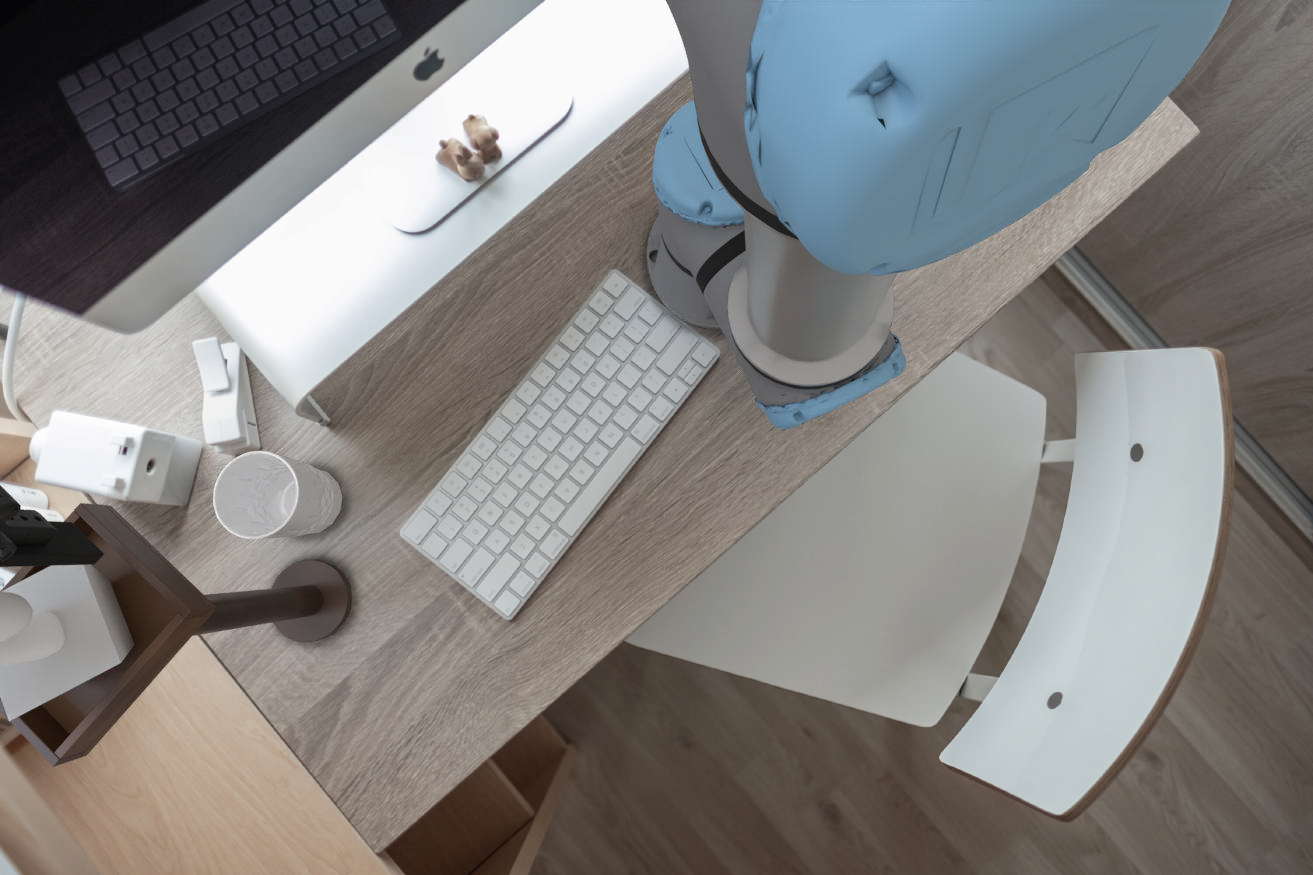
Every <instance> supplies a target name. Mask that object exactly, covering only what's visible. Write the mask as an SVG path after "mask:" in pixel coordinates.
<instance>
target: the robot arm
mask: <svg viewBox="0 0 1313 875" xmlns="http://www.w3.org/2000/svg"><path fill="white" fill-rule="evenodd" d="M665 2H666V4H667V6H668V8H669V10H670V13H671V15H672V18H673V20H674V23H675V25H676V27H677V30H678V33H679V35H680V38H681V41H682V45H683V47H684V51H685V55H686V59H687V64H688V69H689V75H690V82H691V87H692V94H693V99H691V100H690V101H688V102H687V103H686V104H685V103H684V105H682V106H681V107H679V109H677V111H675V112H674V113H673V115H671V117H670V118H669V119H668V120H667V122H666V123H665V124H664V126H663V128H662V130H661V132H660V134H659V136H658V138H657V141H656V144H655V149H654V154H653V162H652V169H651V174H652V177H651V180H652V184H653V185H654V186H653V189H654V192H655V195H656V204H657V212H658V215H657V216H656V218H655V220H654V222H653V224H652V227H651V229H650V231H649V235H648V239H647V244H646V267H647V273H648V277H649V279H650V284H651V286H652V288H653V291H654V292H655V294H656V296H657V297H658V299H659V300H660V301H661V303H662V304H663V306H665V308H666V309H667V310H668V311H669V312H671V313H672V314H673V315H674V316H676V317H677V318H678V319H680V320H682V321H684V322H686V323H688V324H690V325H692V326H695V327H697V328H701V329H705V330H713V331H721V332H722V335H723V336H724V338H725V340H726V342H727V344H728V346H729V348H730V350H731V352H732V354H733V355H734V358H735V360H736V362H737V364H738V365H739V368H740V369H741V371H742V373H743V375H744V377H745V379H746V382H747V383H748V385H749V387H750V389H751V391H752V392H753V395H754V396H755V397H754V401H755V404H756V406H757V407H758V408H759V409H760V410H762V411H763V412H764V414H765V416H766V418H767V419H768V421H769V423H770V424H771V425H772V426H773V427H774V428H776V429H778V430H782V431H783V430H791V429H793V428H796V427H799V426H802V425H803V424H805V423H807V422H809V421H812V420H814V419H817V418H820V417H822V416H824V415H826V414H828V413H830V412H832V411H835V410H837V409H838V408H841V407H843V406H845V405H846V404H849V403H851V402H853V401H855V400H857V399H860V398H861V397H863V396H865V395H867V394H868V393H870V392H872V391H875V390H876V389H879V388H881V387H882V386H884V385H886V384H887V383H889V382H890V381H892V380H893V379H895V378H898V377H899V376H900V375H902V374H903V373H904V372H905V370H906V367H907V358H906V356H905V354H904V352H903V349H902V342H901V341H900V338H899V336H898V335H897V334H894V333H893V332H892V331H891V328H892V325H893V320H894V314H895V294H894V293H895V292H894V284H893V283H894V281H895V279H896V277H897V276H898V274H901V273H905V272H909V271H913V270H916V269H921V268H923V267H926V266H929V265H932V264H934V263H936V262H939V261H942V260H944V259H947V258H948V257H949V258H950V257H951V256H954V255H956V254H959V253H962V252H963V251H965V250H968V249H970V248H971V247H974V246H975V245H977V244H979V243H982V242H983V241H985V240H987V239H990V237H993V236H994V235H996V234H997V233H999V232H1001V231H1002V230H1004V229H1006V228H1008V227H1009V226H1011V225H1012V224H1014V223H1016V222H1018V221H1019V220H1021V219H1022V218H1024V217H1026V216H1027V215H1028V214H1030V213H1032V212H1034V211H1035V210H1036V209H1038V208H1039V207H1041V206H1042V205H1045V203H1047V202H1049V201H1050V200H1051V199H1052V198H1054V197H1056V196H1057V195H1058V194H1060V193H1061V192H1062V191H1064V190H1065V189H1066V188H1068V187H1069V186H1071V185H1072V184H1073V183H1074V182H1076V180H1078V179H1079V178H1080V177H1081V176H1082V175H1084V173H1086V172H1087V171H1088V170H1089V168H1090V166H1091V163H1092V161H1094V159H1096V157H1097V156H1098V155H1100V154H1102V153H1103V152H1105V151H1107V150H1109V149H1111V148H1113V147H1115V146H1117V145H1119V144H1120V143H1122V142H1123V141H1125V140H1126V139H1127V138H1128V137H1129V136H1130V135H1132V134H1133V133H1134V132H1135V131H1136V130H1137V129H1138V128H1139V127H1140V126H1141V125H1142V124H1143V123H1144V122H1145V121H1146V120H1147V119H1148V118H1149V117H1150V116H1151V115H1152V114H1153V113H1154V112H1155V111H1156V110H1157V109H1158V107H1159V106H1160V105H1161V104H1162V103H1163V102H1164V101H1165V100H1166V99H1167V98H1168V96H1169V95H1170V94H1172V93H1173V91H1174V90H1175V89H1176V88H1177V87H1178V85H1179V84H1180V83H1181V82H1182V81H1183V79H1184V78H1185V77H1186V75H1187V74H1188V73H1189V72H1190V71H1191V69H1192V68H1193V66H1194V65H1195V64H1196V63H1197V61H1198V59H1199V58H1200V57H1201V55H1202V54H1203V52H1204V51H1205V49H1206V48H1207V47H1208V45H1209V44H1210V42H1211V40H1212V39H1213V37H1214V36H1215V34H1216V32H1217V30H1218V29H1219V27H1220V25H1221V23H1222V21H1223V19H1224V17H1225V16H1226V14H1227V12H1228V9H1229V7H1230V5H1231V3H1232V0H665ZM21 506H22V505H21V504H20V503H19V502H18V501H17V500H16V499H15V498H14V497H13V496H12V494H10V493H9V492H8V491H7V490H6V489H5V488H4V487H3V486H2V485H1V484H0V568H15V567H19V568H20V567H23V566H56V565H93V564H96V563H97V562H98V560H99V559H100V558H101V557H102V556H103V555H104V553H103V552H102V551H101V550H100V549H99V548H98V547H97V546H96V545H95V544H94V543H93V542H92V541H91V540H90V539H89V538H88V537H87V536H86V535H85V534H84V533H83V532H82V531H81V530H79V529H78V528H77V527H76V526H75V525H74V524H73V523H72V522H64V521H53V520H52V521H51V520H48V519H46V518H45V517H44V516H43V515H42V514H41V513H40V512H38V511H37V510H36V509H23V508H22V507H21ZM21 508H22V509H21Z"/></svg>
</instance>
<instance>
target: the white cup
mask: <svg viewBox="0 0 1313 875" xmlns="http://www.w3.org/2000/svg"><path fill="white" fill-rule="evenodd" d="M343 498H344V497H343V494H342V490H341V487H340V483H339V481H337V480H336V479H335V478H334V477H333V476H332V474H331V473H330V472H328V471H325V470H322V469H318V468H317V467H314V466H313V465H311V464H308V463H305V462H303V461H300V460H296V459H293V458H291V457H287V456H284V455H280V454H277V453H275V452H271V451H268V450H252V451H248V452H245V453H241V454H240V455H238V456H236V457H234V458H233V459H231V460H230V461H229V462H228V463H227V464H226V465H225V466H224V467H223V468H222V470H221V471H220V473H219V474H218V477H217V479H216V481H215V484H214V486H213V492H212V505H213V509H214V513H215V515H216V517H217V520H218V521H219V523H220V524H221V526H223V528H224V529H225V530H227V531H228V533H231V534H232V535H234V536H236V537H238V538H242V539H246V540H262V539H265V540H266V539H282V538H284V539H285V538H293V537H302V536H305V535H313V534H320V533H321V532H323V531H325V530H326V529H328V528H329V527H331V526H332V525H334V522H335V521H336V519H337V518H338V516H339V515H340V513H341V511H342V505H343Z"/></svg>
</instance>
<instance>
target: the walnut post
mask: <svg viewBox="0 0 1313 875" xmlns="http://www.w3.org/2000/svg"><path fill="white" fill-rule="evenodd" d="M352 594H353V592H352V589H351V584H350V582H349V580H348V578H347V576H346V575H345V574H344V572H343V571H342V570H341V569H340V568H339V567H337V566H336V565H335V564H333V563H331V562H329V561H326V560H323V559H306V560H301V561H297V562H295V563H293V564H291V565H289V566H287V567H286V568H285V569H284V570H282V571H281V572H280V573H279V575H278V576H277V578H276V579H275V581H274V582H273V584H272V586H271V588H264V589H263V588H262V589H254V590H253V589H252V590H242V591H230V592H219V593H218V592H217V593H207V594H203V595H204V596H206V597H207V598H208V599H209V600H210V601H211V602H212V603H213V604H214V605H215V606H216V607H217V608H216V610H215V611H214V612H213V613H212V614H211V615H210V616H209V618H208V619H207V620H206V621H205V622H204V623H203V624H202V625H201V627H200V628H199V629H198V630H197V631H196V632H195V633H194V635H193V636H192V637H194V636H201V635H206V634H207V635H208V634H213V633H217V632H223V631H230V630H236V629H241V628H248V627H254V626H259V625H265V624H271V623H273V624H274V626H275V628H276V629H277V630H278V631H279V632H280V633H281V634H282V635H283V636H284V637H286V638H288V639H289V640H292V641H295V642H298V643H314V642H318V641H322V640H324V639H327V638H329V637H331V636H332V635H334V634H335V633H336V632H338V631H339V630H340V629H341V628H342V626H343V625H344V624H345V622H346V620H347V619H348V617H349V614H350V612H351V608H352V601H353V595H352Z"/></svg>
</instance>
